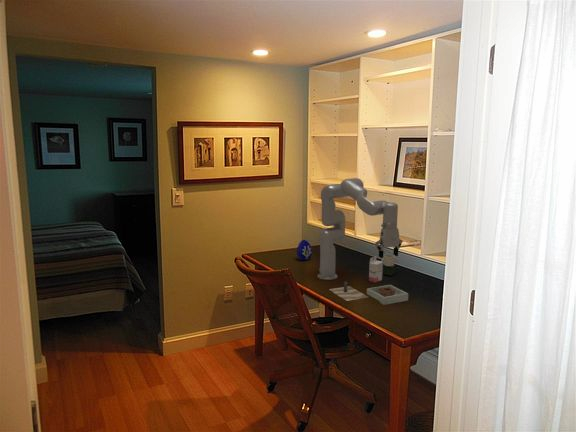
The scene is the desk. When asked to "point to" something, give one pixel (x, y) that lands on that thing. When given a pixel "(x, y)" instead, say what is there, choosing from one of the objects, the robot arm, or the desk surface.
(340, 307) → the desk surface
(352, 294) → the stake board
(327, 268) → the robot arm
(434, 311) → the desk surface
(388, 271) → the character mug
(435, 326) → the desk surface
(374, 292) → the tray
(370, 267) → the ink cartridge box
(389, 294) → the tabbed ring
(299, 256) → the ornament
